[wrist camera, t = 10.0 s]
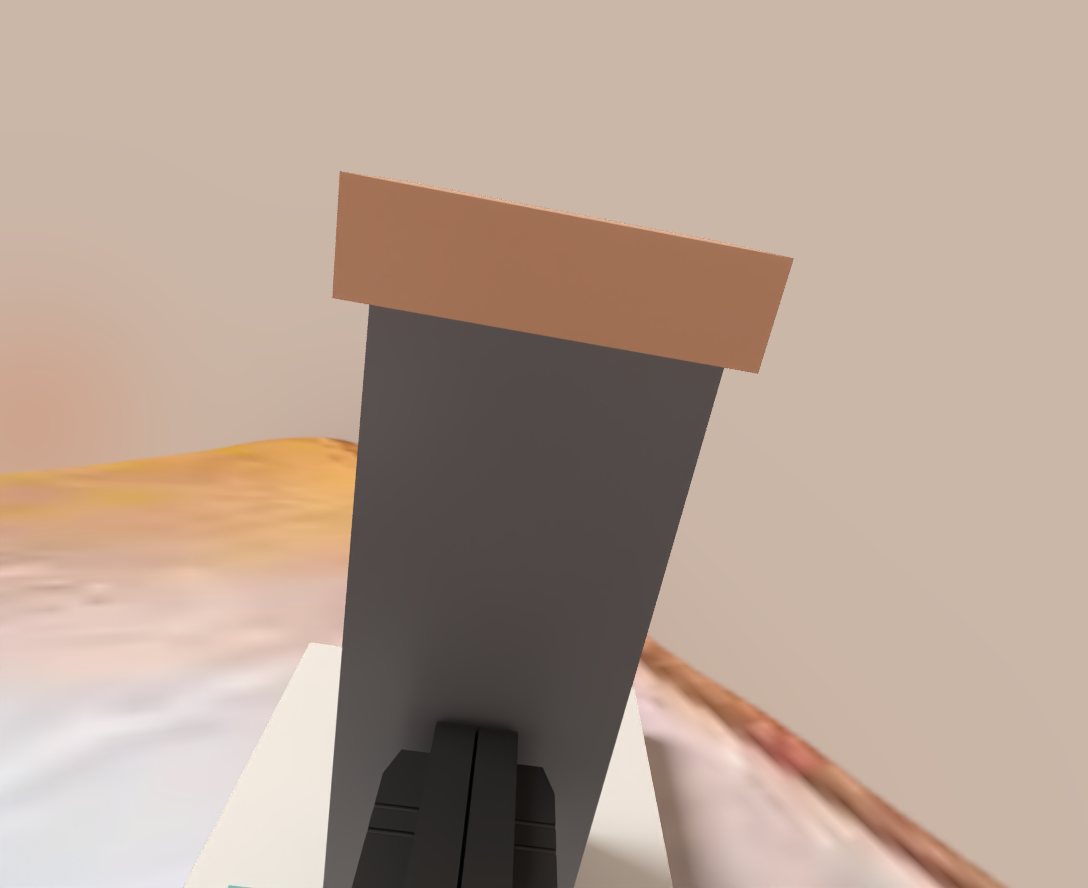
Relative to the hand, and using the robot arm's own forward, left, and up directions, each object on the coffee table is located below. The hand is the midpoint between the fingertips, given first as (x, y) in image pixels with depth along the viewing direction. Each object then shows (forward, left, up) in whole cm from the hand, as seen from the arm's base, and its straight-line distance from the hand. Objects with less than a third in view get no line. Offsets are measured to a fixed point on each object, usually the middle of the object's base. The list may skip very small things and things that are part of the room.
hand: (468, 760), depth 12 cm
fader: (0, +2, -6) cm, 6 cm away
